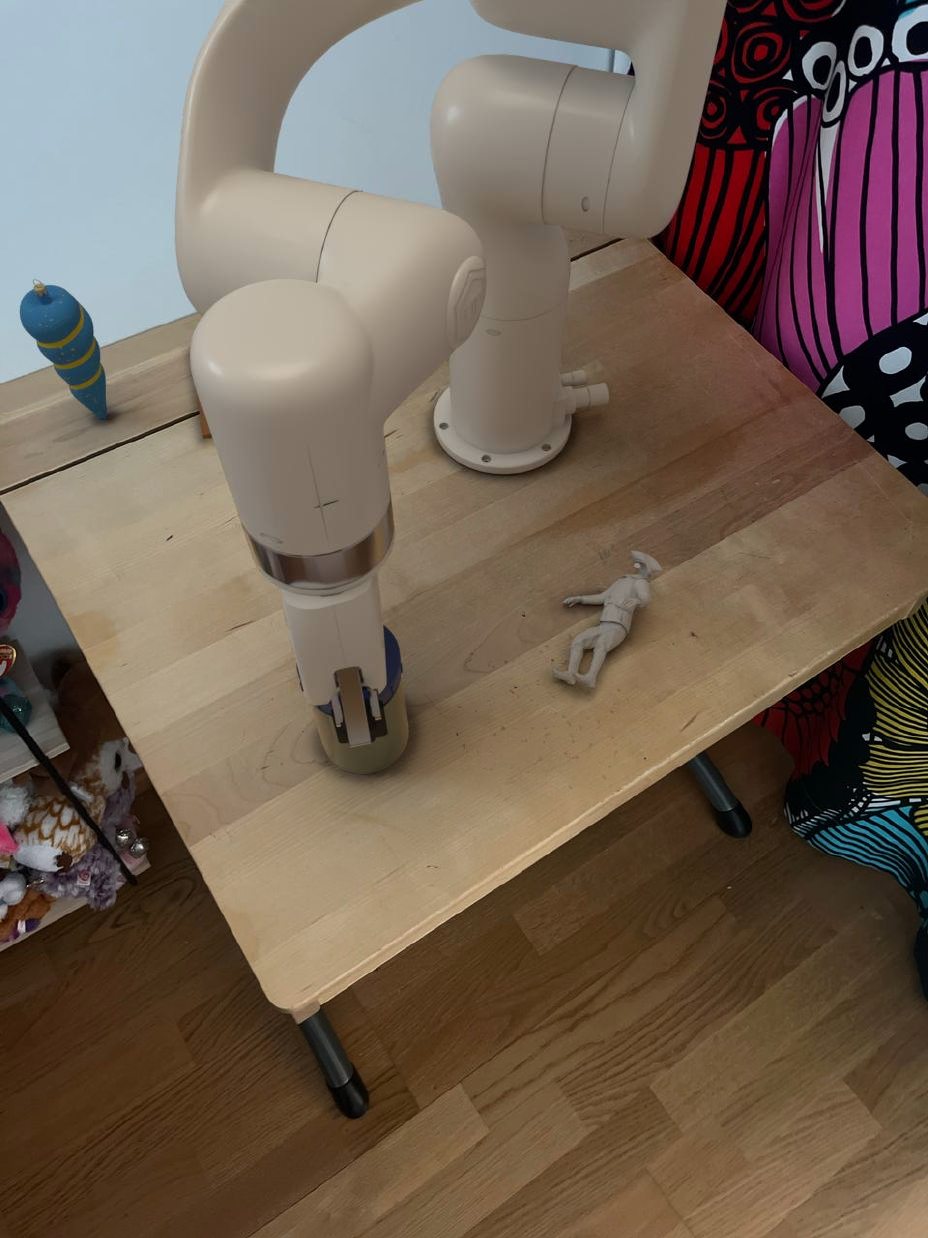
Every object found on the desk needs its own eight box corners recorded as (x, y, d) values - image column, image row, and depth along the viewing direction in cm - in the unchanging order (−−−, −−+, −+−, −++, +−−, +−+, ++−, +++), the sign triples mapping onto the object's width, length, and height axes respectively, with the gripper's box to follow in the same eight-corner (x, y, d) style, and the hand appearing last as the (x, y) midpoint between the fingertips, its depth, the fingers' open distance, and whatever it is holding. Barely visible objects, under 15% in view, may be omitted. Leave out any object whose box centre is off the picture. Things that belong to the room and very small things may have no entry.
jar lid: (410, 705, 58) (409, 694, 57) (306, 726, 57) (302, 714, 56) (392, 619, 62) (391, 606, 60) (294, 637, 61) (290, 624, 60)
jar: (399, 687, 70) (388, 613, 61) (417, 763, 66) (408, 696, 58) (315, 705, 69) (293, 633, 60) (329, 783, 66) (308, 719, 57)
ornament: (116, 441, 84) (53, 305, 71) (63, 433, 84) (-8, 296, 72) (138, 401, 86) (81, 263, 74) (87, 394, 87) (22, 256, 74)
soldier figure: (526, 669, 72) (583, 535, 74) (569, 694, 74) (623, 563, 76) (590, 680, 65) (650, 532, 67) (635, 707, 67) (692, 563, 70)
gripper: (233, 409, 50) (287, 591, 66) (258, 679, 41) (314, 819, 56) (368, 389, 51) (391, 574, 66) (421, 650, 42) (434, 796, 57)
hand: (355, 685), depth 61 cm, fingers closed on jar lid, 6 cm apart
